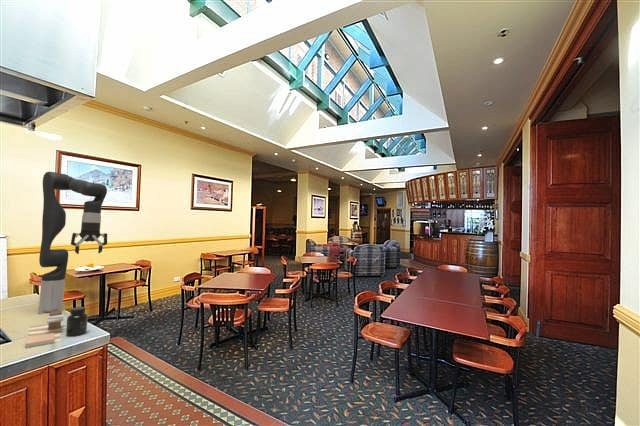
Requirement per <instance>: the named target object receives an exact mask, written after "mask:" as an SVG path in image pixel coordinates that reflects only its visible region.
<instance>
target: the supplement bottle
mask: <svg viewBox="0 0 640 426" xmlns="http://www.w3.org/2000/svg"><path fill="white" fill-rule="evenodd" d="M88 317H89V316H88V314H87V313H86V307H85V306H78V307H73V308H71V309H70V314H69V315H68V316H67V319H66V329H65V336H66V337H70V338H71V337H72V338H74V337H75V338H76V337H79V336H82V335H85V334H87V331H88Z"/></svg>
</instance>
